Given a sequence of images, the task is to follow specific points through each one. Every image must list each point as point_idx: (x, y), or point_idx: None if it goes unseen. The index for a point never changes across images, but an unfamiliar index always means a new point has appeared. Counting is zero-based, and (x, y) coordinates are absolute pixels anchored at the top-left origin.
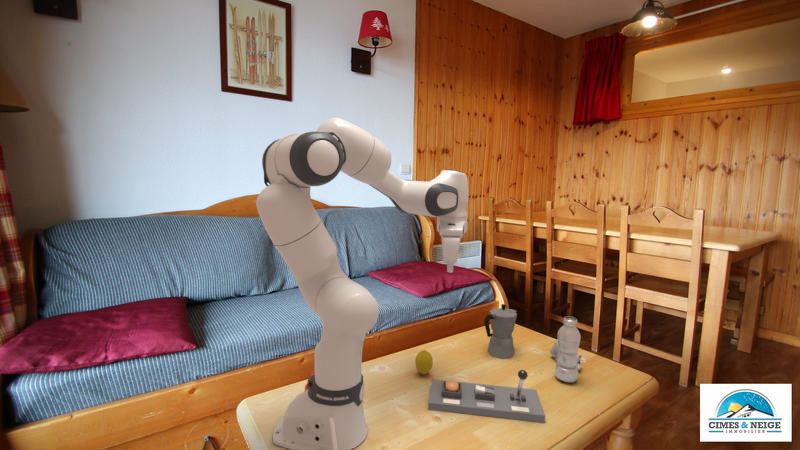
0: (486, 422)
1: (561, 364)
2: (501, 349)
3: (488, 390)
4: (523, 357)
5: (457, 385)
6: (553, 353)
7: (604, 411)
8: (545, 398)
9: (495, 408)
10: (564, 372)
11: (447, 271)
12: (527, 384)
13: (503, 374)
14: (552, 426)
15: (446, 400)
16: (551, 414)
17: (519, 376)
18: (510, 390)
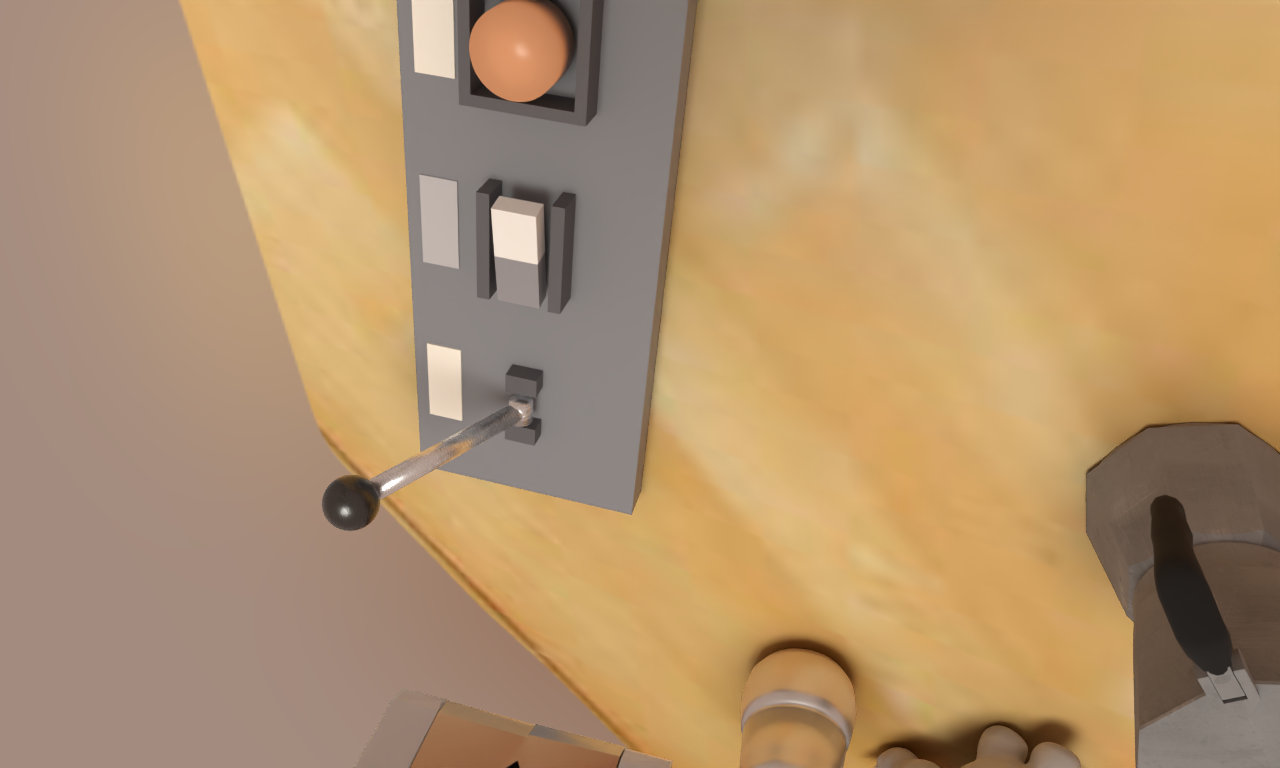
0: (377, 191)
1: (765, 722)
2: (1106, 515)
3: (514, 277)
4: (1085, 598)
5: (499, 91)
6: (1034, 753)
7: (559, 675)
8: (626, 522)
9: (425, 267)
10: (750, 697)
11: (399, 700)
12: (752, 497)
13: (866, 417)
14: None
15: None
16: (502, 493)
17: (335, 480)
18: (608, 394)
